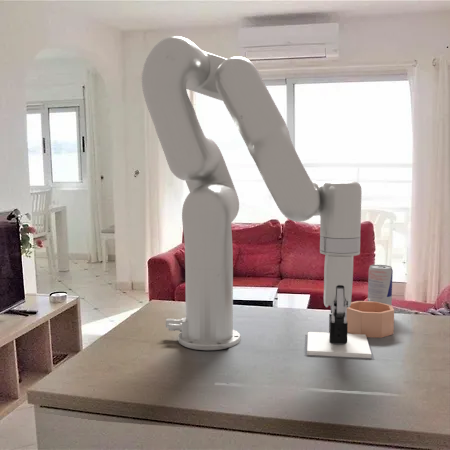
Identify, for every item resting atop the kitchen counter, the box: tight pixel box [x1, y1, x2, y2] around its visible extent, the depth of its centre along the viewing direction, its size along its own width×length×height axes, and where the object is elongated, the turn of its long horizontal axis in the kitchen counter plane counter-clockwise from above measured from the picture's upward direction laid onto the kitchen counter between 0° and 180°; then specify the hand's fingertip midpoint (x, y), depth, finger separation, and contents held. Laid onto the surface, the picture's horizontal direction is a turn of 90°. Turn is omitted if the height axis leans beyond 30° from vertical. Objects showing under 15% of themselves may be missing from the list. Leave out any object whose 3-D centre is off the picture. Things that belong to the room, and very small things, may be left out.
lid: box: [307, 316, 371, 358], centre depth 107 cm, size 12×12×6 cm
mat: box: [304, 334, 375, 361], centre depth 108 cm, size 13×13×1 cm
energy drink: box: [367, 264, 394, 306], centre depth 129 cm, size 5×5×12 cm
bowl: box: [347, 300, 395, 339], centre depth 118 cm, size 10×10×6 cm
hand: (337, 337), depth 108 cm, fingers open, 4 cm apart
